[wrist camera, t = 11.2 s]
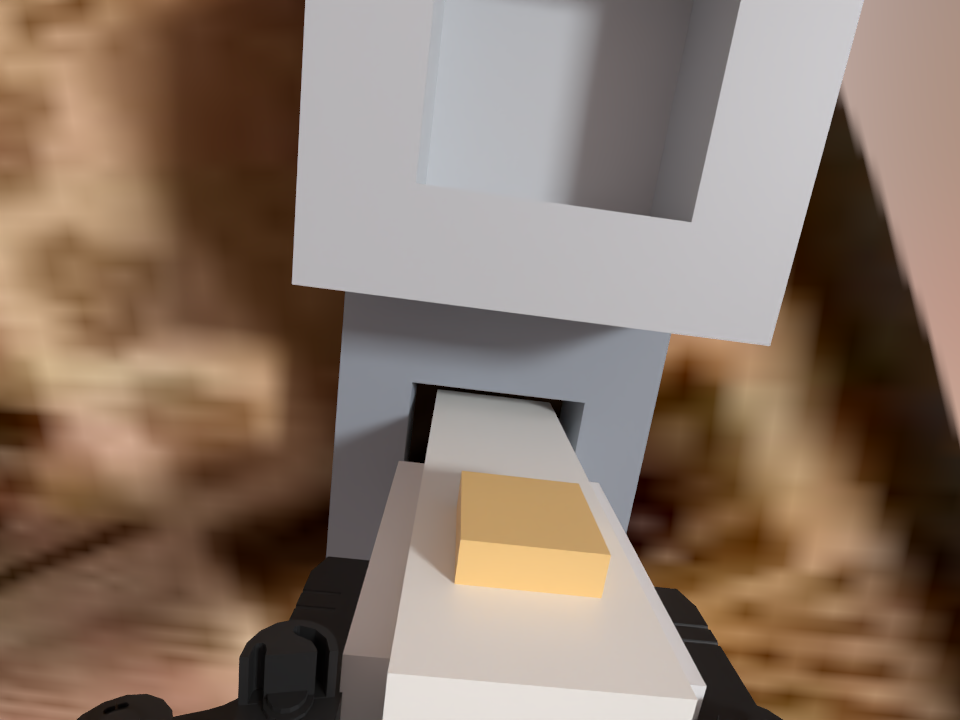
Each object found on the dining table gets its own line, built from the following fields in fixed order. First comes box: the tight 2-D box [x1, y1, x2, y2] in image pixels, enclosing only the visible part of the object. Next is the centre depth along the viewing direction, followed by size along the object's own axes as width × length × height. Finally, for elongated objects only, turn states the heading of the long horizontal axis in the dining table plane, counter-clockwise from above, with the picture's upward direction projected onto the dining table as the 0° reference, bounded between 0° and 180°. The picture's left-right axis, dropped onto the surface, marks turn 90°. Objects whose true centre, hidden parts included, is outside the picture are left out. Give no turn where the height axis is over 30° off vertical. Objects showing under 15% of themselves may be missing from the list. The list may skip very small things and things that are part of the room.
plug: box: [382, 389, 698, 720], centre depth 13 cm, size 4×5×12 cm
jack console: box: [292, 0, 864, 560], centre depth 15 cm, size 10×21×8 cm, turn 172°
